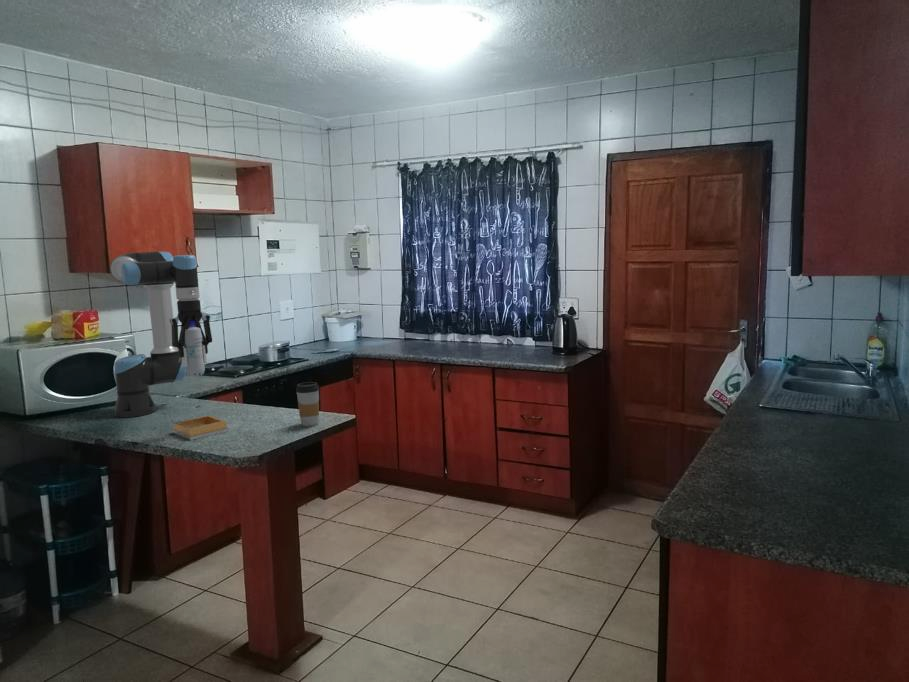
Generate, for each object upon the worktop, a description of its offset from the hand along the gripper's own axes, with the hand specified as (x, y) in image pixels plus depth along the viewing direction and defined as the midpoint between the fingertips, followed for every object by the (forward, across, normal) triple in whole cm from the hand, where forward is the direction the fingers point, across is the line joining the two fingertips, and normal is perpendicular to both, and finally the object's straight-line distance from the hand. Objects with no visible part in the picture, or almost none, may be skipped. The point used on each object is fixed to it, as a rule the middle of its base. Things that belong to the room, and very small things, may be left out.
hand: (194, 364), depth 234 cm
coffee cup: (+25, +31, -23) cm, 46 cm away
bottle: (+4, 0, 0) cm, 4 cm away
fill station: (+25, 0, 0) cm, 25 cm away
